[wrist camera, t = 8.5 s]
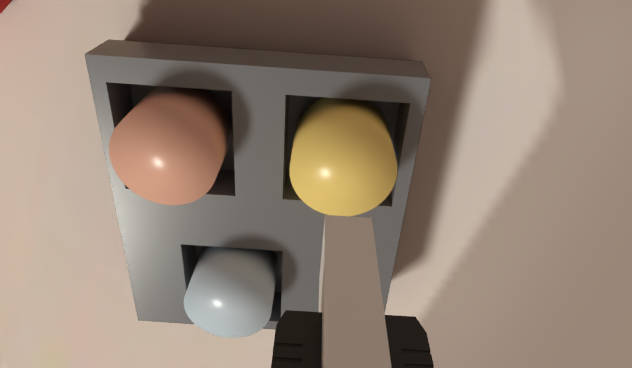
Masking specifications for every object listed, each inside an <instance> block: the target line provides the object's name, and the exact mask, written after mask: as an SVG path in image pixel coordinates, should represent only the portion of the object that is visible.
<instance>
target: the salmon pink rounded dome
mask: <svg viewBox="0 0 632 368" xmlns="http://www.w3.org/2000/svg"><path fill="white" fill-rule="evenodd" d="M231 139H232V125H231V121H230V118H229V116H228V113H227V112H226V110H225V108H224V107H223V105H222V104H221V103H220V102H219V100H218V99H217V98H216V97H214V96H213V95H212V94H211V93H209V92H208V91H206V90H204V89H196V88H182V87H167V86H157V87H156V88H154V89H152V90H151V91H150V92H149V93H148V94H147V95H146V96H145V97H144V98H143V99H142V100H141V101H140V102H139V103H138V104H137V105H136V106H135V107H134V108H133V109H132V110H131V111H130V112H129V113H128V114H127V115H126V116H125V117H124V118H123V119H122V121H121V122H120V123H119V124H118V125H117V126H116V127H115V129H114V131H113V132H112V135H111V138H110V142H109V156H110V160H111V164H112V166H113V168H114V170H115V172H116V174H117V175H118V177H119V178H120V180H121V181H122V182H123V183H124V184H125V185H126V186H127V187H128V188H129V189H130V190H132V191H133V192H134V193H136V194H137V195H139V196H141V197H142V198H145V199H147V200H149V201H152V202H155V203H159V204H164V205H183V204H187V203H191V202H193V201H196V200H198V199H200V198H201V197H202V196H204V195H205V194H206V193H207V192H208V191H209V190H210V188H211V187H212V186H213V184H214V182H215V180H216V177H217V175H218V172H219V170H220V168H221V165H222V163H223V160H224V158H225V156H226V153H227V151H228V148H229V146H230V143H231Z"/></svg>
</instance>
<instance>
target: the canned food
mask: <svg viewBox="0 0 632 368" xmlns="http://www.w3.org/2000/svg"><path fill="white" fill-rule="evenodd" d="M11 1H12V0H0V13H2V11H3V10H4V9H5V8H6V7H7V6H8V4H9V3H10V2H11Z"/></svg>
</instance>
